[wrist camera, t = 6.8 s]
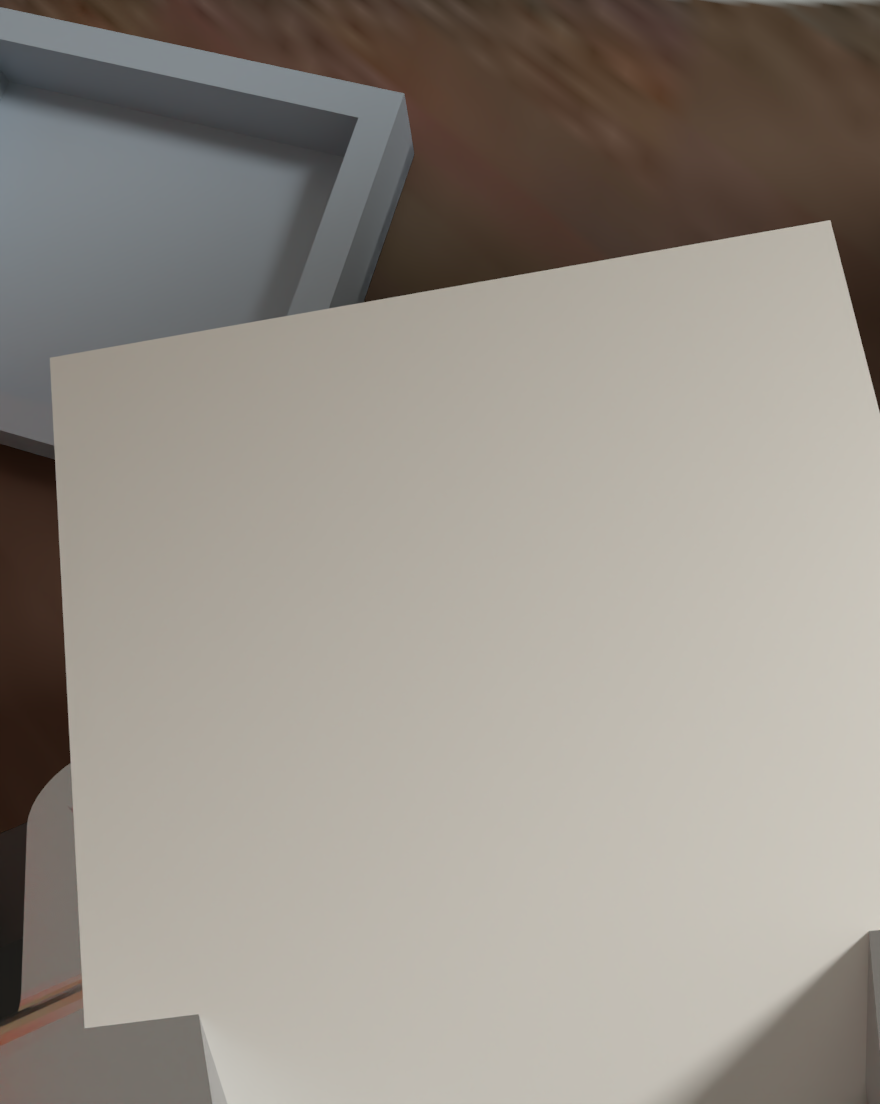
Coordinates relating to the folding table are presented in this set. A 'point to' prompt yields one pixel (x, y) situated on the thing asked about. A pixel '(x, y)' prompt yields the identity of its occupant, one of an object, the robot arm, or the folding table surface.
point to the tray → (173, 197)
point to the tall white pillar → (487, 685)
